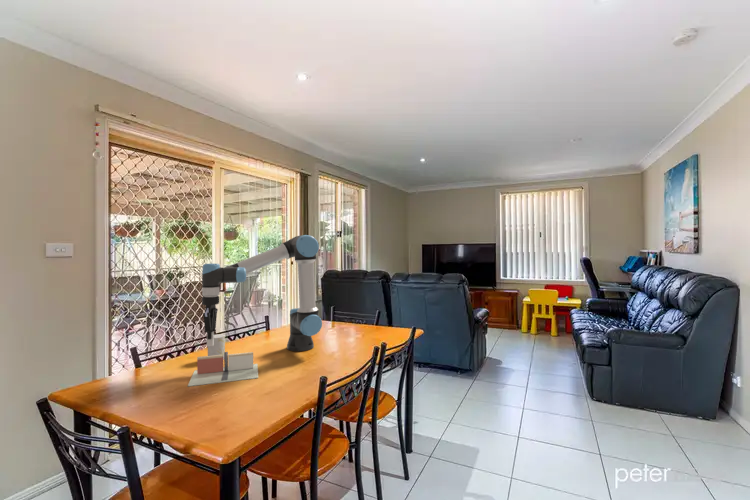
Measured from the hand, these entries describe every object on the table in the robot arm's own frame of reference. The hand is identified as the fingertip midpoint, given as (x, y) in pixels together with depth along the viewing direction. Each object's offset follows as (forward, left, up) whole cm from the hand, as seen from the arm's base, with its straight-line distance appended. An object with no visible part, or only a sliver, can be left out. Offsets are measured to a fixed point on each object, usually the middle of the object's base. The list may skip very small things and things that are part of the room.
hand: (210, 345), depth 167 cm
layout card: (-7, +10, -11) cm, 17 cm away
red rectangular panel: (-1, +6, -11) cm, 12 cm away
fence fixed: (-13, +6, -11) cm, 18 cm away
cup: (-1, -16, -12) cm, 20 cm away
